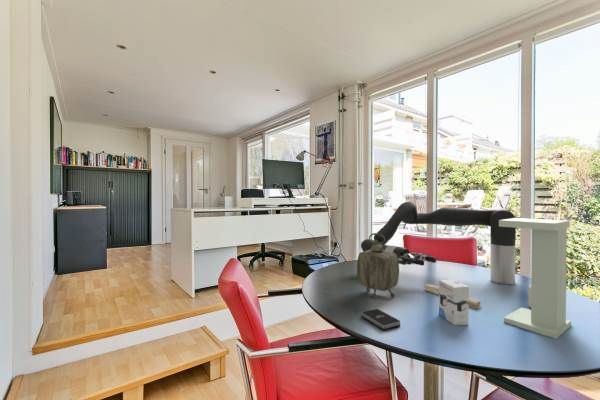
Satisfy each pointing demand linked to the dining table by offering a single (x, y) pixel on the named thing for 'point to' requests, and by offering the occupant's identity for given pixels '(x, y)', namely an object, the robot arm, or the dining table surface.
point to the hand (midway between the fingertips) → (429, 261)
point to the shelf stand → (544, 277)
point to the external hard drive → (380, 319)
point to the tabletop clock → (378, 268)
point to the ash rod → (435, 289)
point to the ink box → (454, 301)
